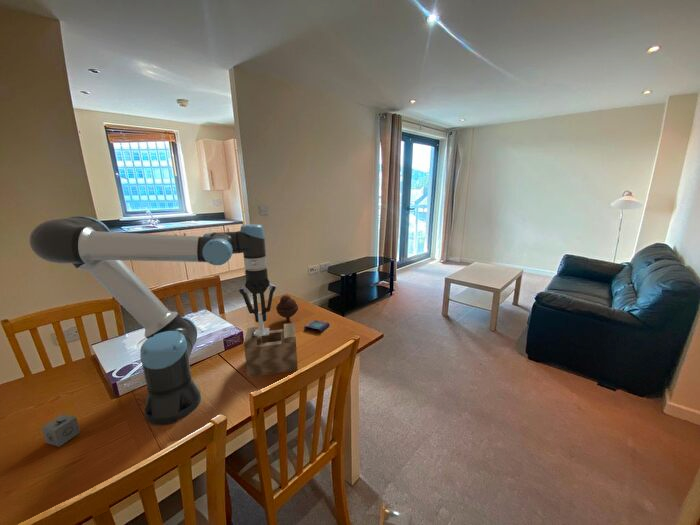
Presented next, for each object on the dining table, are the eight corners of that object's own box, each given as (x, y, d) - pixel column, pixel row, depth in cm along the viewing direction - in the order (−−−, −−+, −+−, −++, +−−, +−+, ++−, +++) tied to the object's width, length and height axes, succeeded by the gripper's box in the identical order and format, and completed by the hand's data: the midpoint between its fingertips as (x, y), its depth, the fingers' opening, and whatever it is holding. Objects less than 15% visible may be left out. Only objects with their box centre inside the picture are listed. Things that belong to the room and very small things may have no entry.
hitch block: (247, 377, 107) (243, 342, 104) (250, 359, 118) (247, 327, 115) (297, 369, 111) (295, 336, 107) (296, 353, 122) (294, 322, 119)
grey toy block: (59, 446, 78) (54, 431, 77) (46, 442, 80) (41, 427, 78) (80, 432, 83) (76, 417, 82) (67, 428, 84) (63, 414, 83)
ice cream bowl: (273, 327, 146) (270, 299, 142) (284, 318, 156) (282, 291, 153) (292, 330, 143) (290, 301, 139) (302, 320, 153) (301, 293, 150)
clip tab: (252, 337, 108) (252, 335, 107) (253, 331, 112) (253, 329, 112) (269, 335, 109) (268, 332, 109) (269, 329, 113) (269, 327, 113)
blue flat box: (303, 325, 140) (315, 318, 149) (303, 331, 140) (315, 323, 150) (320, 329, 136) (331, 321, 145) (320, 335, 136) (331, 327, 146)
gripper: (235, 272, 100) (242, 336, 105) (274, 269, 103) (279, 331, 108) (238, 267, 107) (244, 327, 112) (275, 264, 110) (279, 323, 115)
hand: (261, 329), depth 110 cm, fingers closed
